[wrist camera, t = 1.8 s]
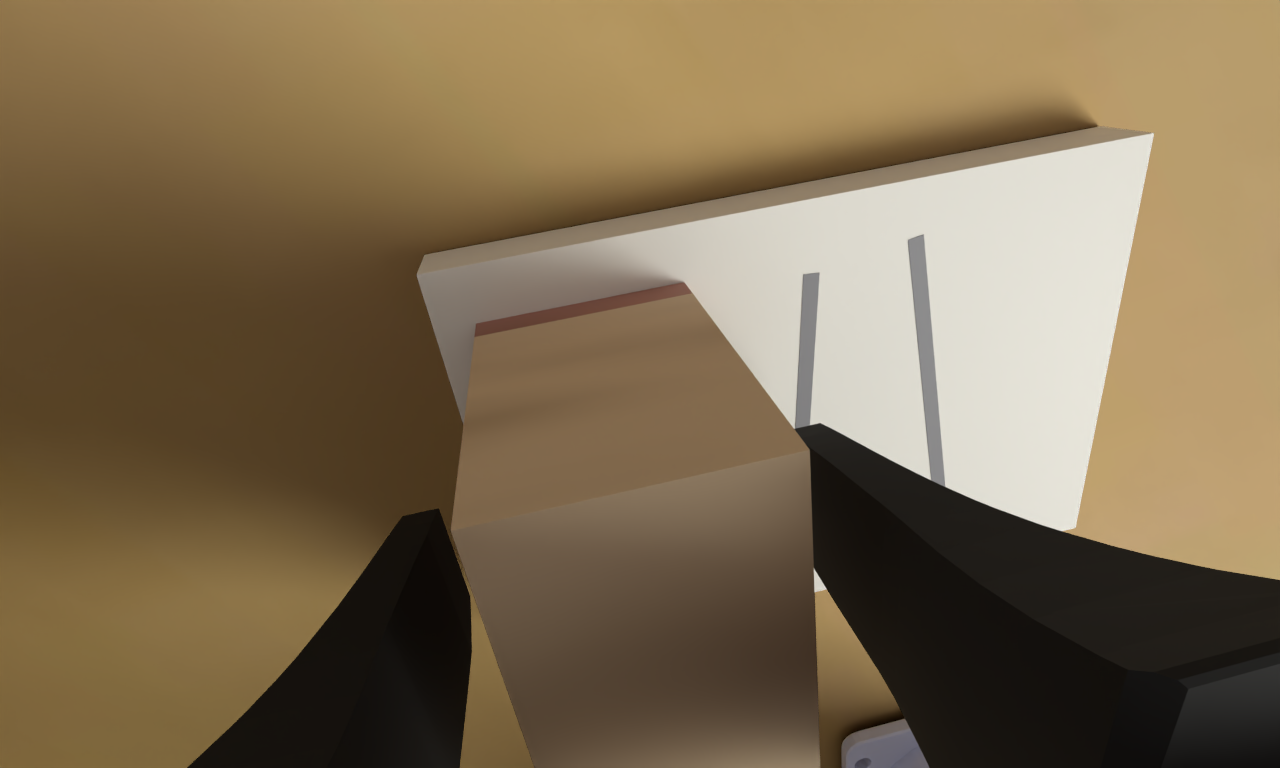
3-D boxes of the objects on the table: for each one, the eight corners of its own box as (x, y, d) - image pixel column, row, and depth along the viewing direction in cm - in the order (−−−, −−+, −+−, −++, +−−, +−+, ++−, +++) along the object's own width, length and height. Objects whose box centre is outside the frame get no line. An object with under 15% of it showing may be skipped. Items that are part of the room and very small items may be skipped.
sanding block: (720, 582, 15) (822, 841, 10) (559, 620, 15) (584, 907, 10) (684, 282, 12) (809, 449, 7) (475, 323, 11) (450, 530, 6)
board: (1040, 498, 17) (1075, 528, 16) (535, 619, 16) (537, 661, 15) (1100, 126, 13) (1154, 133, 12) (424, 254, 12) (416, 275, 11)
